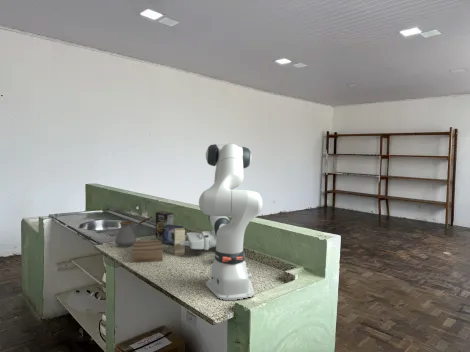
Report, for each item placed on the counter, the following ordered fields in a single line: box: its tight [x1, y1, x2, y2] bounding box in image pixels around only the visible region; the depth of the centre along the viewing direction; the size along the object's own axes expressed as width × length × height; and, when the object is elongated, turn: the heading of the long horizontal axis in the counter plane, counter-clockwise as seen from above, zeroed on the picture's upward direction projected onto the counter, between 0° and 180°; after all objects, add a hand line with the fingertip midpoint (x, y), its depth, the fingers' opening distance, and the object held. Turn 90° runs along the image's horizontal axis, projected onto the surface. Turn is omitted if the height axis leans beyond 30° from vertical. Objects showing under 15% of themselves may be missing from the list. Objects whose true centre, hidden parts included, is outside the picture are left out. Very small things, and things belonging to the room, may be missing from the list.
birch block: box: [173, 227, 186, 256], centre depth 171 cm, size 5×5×13 cm
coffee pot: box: [114, 216, 154, 247], centre depth 186 cm, size 21×12×15 cm, turn 124°
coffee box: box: [155, 210, 175, 240], centre depth 200 cm, size 9×6×16 cm
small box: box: [161, 224, 184, 247], centre depth 189 cm, size 11×6×10 cm, turn 73°
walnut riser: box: [132, 239, 164, 263], centre depth 167 cm, size 20×14×5 cm
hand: (179, 240), depth 171 cm, fingers open, 8 cm apart
